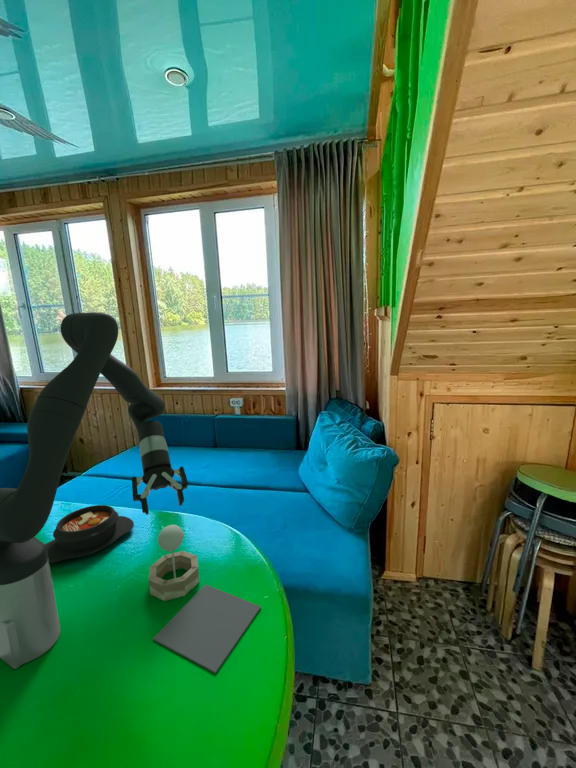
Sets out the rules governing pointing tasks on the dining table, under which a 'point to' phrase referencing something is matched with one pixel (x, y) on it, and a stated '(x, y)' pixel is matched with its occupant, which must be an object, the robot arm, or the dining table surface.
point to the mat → (208, 627)
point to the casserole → (86, 532)
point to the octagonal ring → (177, 585)
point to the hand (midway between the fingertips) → (164, 509)
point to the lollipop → (171, 540)
